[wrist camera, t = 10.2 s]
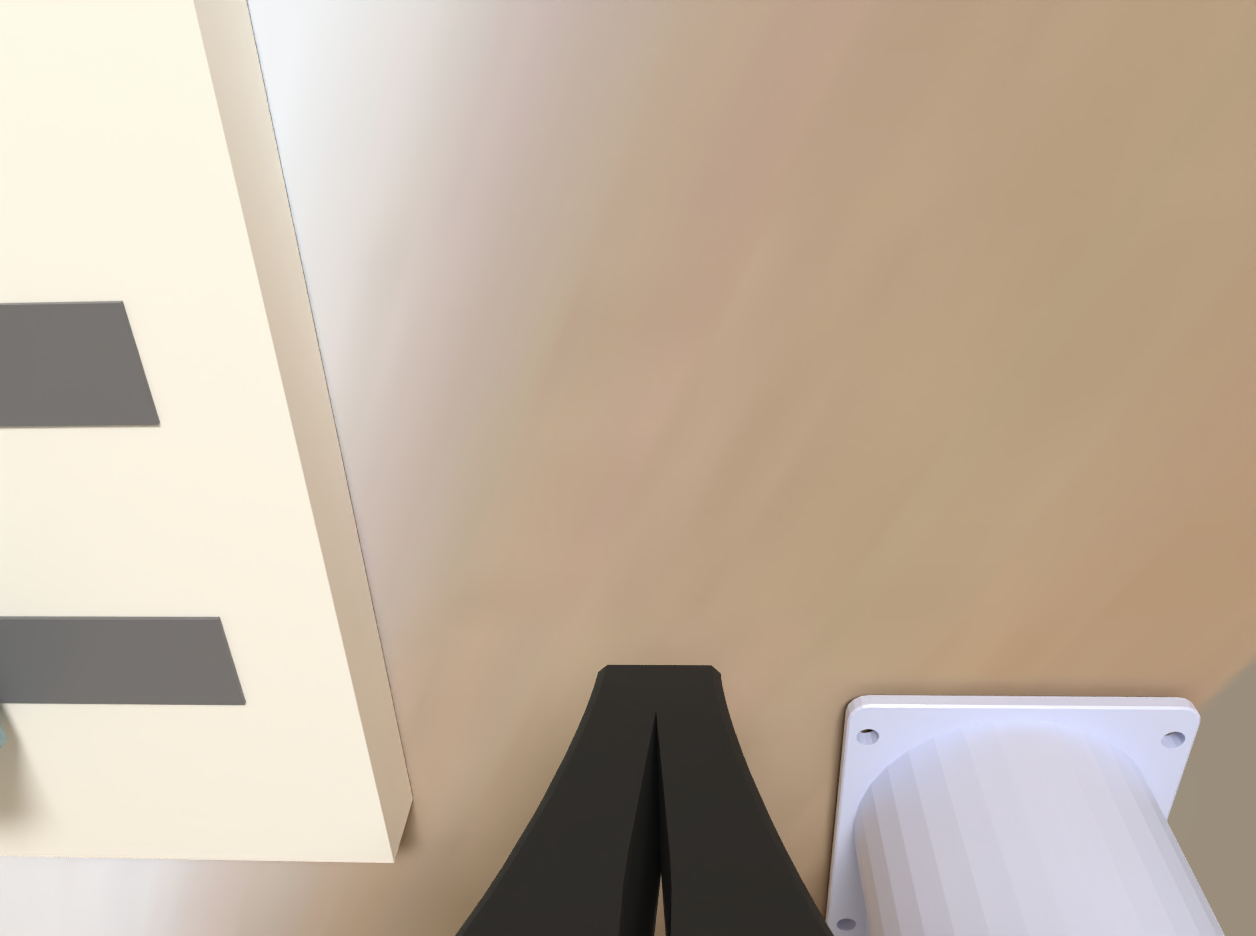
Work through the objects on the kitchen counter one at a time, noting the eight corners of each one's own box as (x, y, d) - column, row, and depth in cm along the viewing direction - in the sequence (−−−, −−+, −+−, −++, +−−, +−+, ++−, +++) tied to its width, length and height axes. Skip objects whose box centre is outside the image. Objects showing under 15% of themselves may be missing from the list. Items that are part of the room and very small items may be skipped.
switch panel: (412, 799, 27) (393, 866, 25) (-94, 791, 27) (-149, 856, 26) (235, -54, 16) (180, -44, 15) (-557, -22, 17) (-702, -9, 16)
